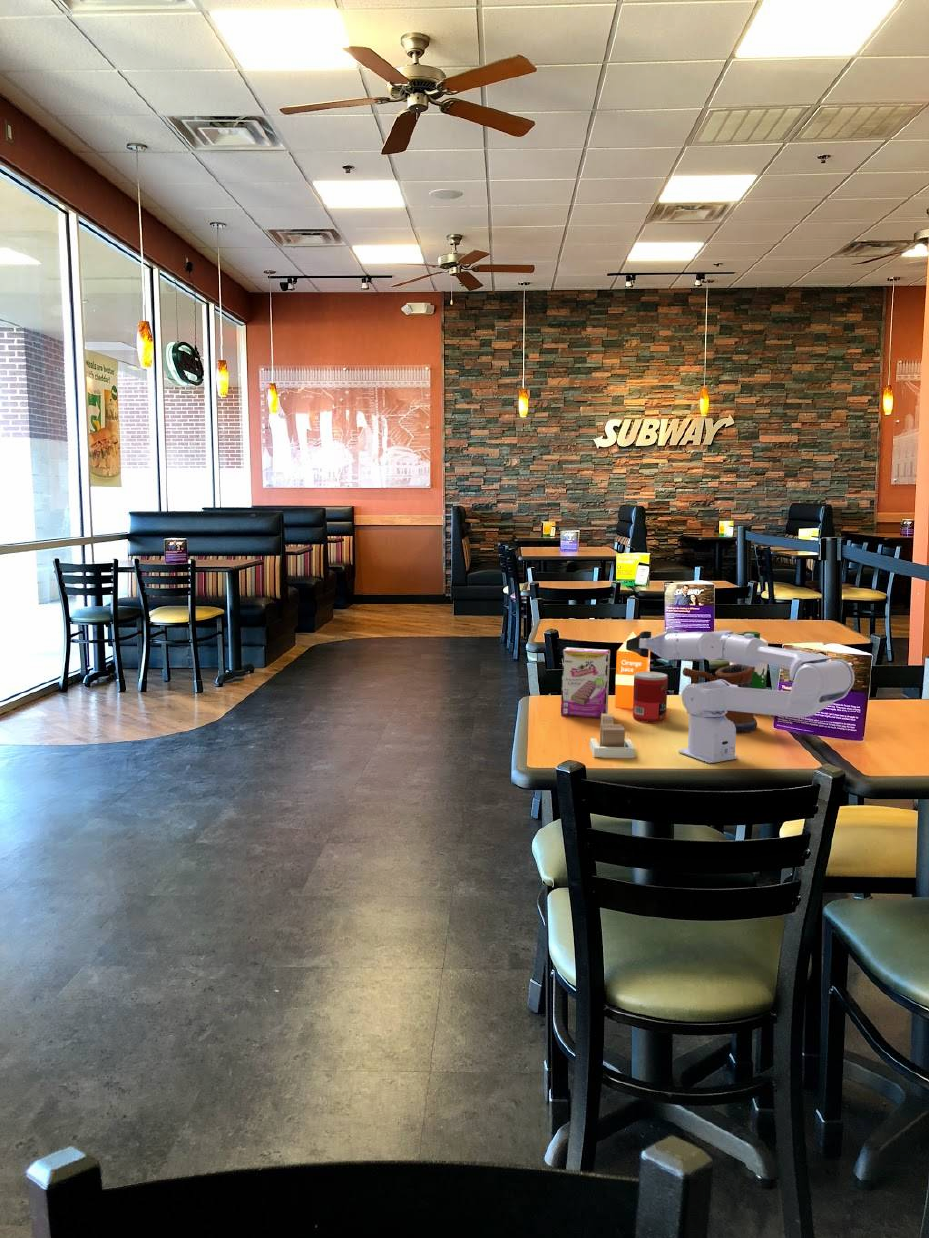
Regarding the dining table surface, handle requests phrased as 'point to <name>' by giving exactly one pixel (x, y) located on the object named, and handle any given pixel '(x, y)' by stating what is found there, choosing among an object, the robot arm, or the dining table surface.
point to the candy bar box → (585, 682)
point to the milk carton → (758, 668)
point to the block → (611, 732)
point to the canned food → (650, 696)
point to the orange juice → (628, 672)
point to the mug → (734, 676)
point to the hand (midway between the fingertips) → (639, 646)
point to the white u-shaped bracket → (612, 750)
